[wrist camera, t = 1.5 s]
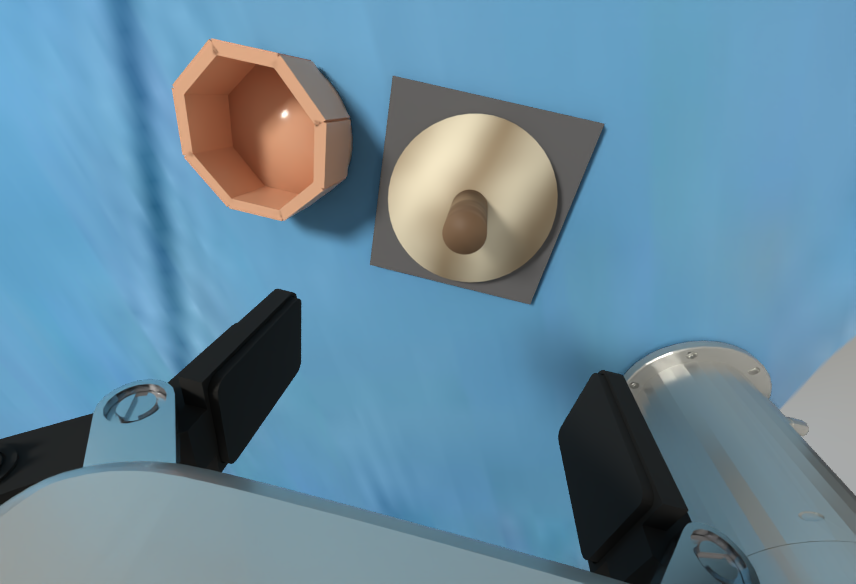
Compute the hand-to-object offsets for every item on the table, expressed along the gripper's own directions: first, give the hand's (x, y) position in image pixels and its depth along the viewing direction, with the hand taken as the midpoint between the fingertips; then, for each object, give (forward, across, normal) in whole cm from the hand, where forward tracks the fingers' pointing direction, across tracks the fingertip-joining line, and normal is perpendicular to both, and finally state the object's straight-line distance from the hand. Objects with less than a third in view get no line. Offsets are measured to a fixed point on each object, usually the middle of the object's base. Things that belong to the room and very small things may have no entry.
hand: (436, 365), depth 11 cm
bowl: (+20, +15, -2) cm, 25 cm away
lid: (+19, 0, 0) cm, 19 cm away
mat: (+20, 0, 0) cm, 20 cm away
